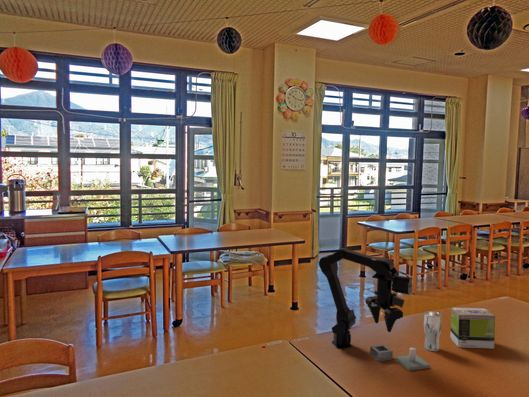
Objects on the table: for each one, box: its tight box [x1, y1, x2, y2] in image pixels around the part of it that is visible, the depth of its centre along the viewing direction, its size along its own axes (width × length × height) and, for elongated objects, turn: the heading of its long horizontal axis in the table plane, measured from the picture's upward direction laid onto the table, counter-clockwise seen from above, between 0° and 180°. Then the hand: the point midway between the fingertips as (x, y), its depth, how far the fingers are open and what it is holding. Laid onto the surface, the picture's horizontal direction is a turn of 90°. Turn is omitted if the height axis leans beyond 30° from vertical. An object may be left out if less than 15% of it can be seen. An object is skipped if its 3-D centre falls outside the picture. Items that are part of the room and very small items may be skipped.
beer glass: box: [423, 310, 443, 352], centre depth 175 cm, size 7×7×15 cm
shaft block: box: [395, 347, 430, 371], centre depth 161 cm, size 9×9×6 cm
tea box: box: [450, 306, 496, 350], centre depth 179 cm, size 15×10×15 cm, turn 84°
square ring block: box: [369, 343, 394, 362], centre depth 167 cm, size 6×6×4 cm
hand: (382, 327), depth 167 cm, fingers open, 9 cm apart
